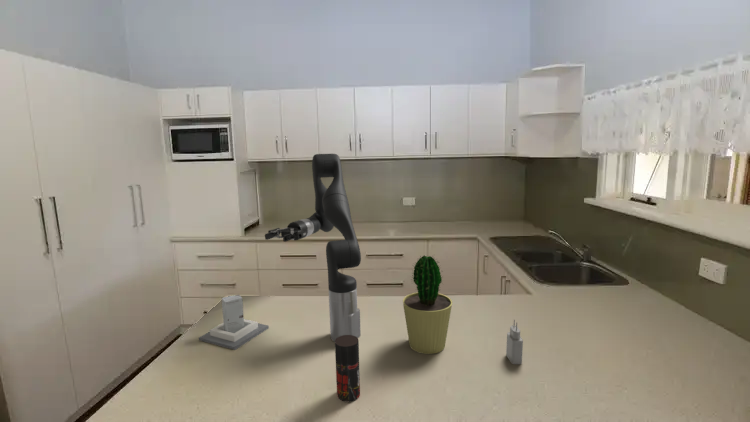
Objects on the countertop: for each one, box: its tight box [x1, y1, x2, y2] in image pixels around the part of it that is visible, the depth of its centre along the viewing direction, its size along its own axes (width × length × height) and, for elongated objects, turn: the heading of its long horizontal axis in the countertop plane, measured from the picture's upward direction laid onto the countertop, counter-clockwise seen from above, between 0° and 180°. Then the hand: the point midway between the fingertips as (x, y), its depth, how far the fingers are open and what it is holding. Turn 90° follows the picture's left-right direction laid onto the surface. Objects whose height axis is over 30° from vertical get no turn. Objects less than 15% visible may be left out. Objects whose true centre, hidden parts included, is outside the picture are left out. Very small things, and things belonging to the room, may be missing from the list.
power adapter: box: [505, 319, 524, 365], centre depth 113 cm, size 3×5×12 cm, turn 1°
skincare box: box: [221, 294, 245, 333], centre depth 132 cm, size 6×4×12 cm
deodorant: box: [334, 335, 361, 403], centre depth 98 cm, size 6×6×15 cm
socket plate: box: [198, 318, 270, 351], centre depth 132 cm, size 16×16×3 cm
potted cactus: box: [402, 255, 453, 355], centre depth 121 cm, size 15×15×30 cm
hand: (274, 238), depth 143 cm, fingers open, 8 cm apart
